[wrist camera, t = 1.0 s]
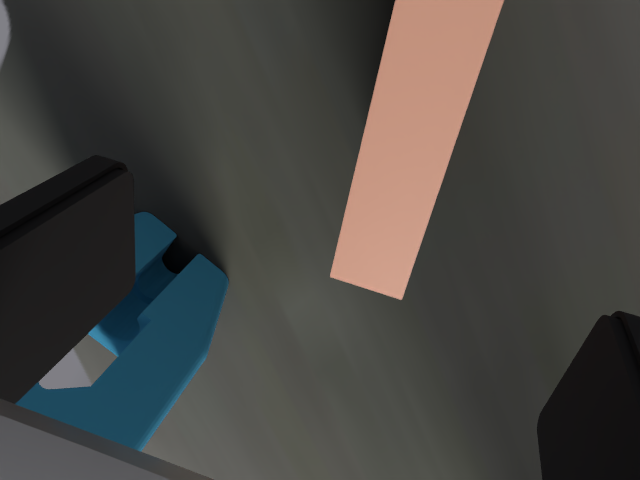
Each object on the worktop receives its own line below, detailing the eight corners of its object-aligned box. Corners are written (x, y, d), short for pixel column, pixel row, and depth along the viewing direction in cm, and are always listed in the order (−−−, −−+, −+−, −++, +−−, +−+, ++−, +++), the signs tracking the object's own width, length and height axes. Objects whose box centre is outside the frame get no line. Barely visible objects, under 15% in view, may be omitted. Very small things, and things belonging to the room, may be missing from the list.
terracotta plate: (505, -44, 24) (517, -40, 14) (430, 184, 30) (401, 299, 20) (442, -57, 24) (410, -63, 14) (381, 170, 31) (329, 276, 21)
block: (98, 232, 40) (-186, 438, 23) (123, 190, 37) (-179, 388, 20) (219, 329, 41) (33, 589, 24) (251, 295, 38) (67, 561, 22)
